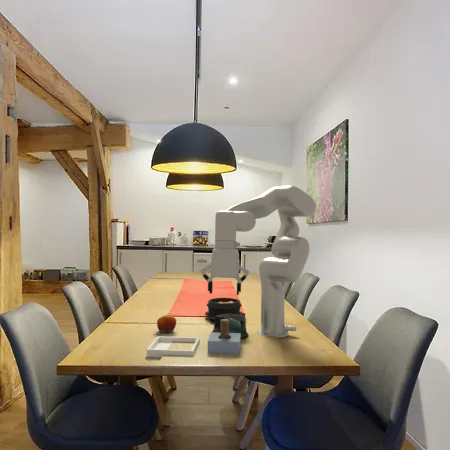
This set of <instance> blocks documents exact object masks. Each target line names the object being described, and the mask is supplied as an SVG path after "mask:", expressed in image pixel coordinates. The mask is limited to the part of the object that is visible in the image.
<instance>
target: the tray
mask: <svg viewBox="0 0 450 450" xmlns="http://www.w3.org/2000/svg"><path fill="white" fill-rule="evenodd" d="M200 341H201V340H200V337H194V336H193V337H191V336H166V335H165V336H163V335H162V336H161V335H160V336H159V335H157V337H155V339H154V340H153V341H152V343H150V344H149V346H148V347H147V348H146V354H145V355H146V357H147V358H163V357H164V356H187V357H188V356H194V355H195V352H196V351H197V348H198V346H199V344H200ZM173 342H178V343H181V342H183V343H184V342H185V343H194V344H193V346H192V348H191V349H169V348H170V346H171V345H172V343H173Z"/></svg>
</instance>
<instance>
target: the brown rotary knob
mask: <svg viewBox="0 0 450 450" xmlns="http://www.w3.org/2000/svg"><path fill="white" fill-rule="evenodd" d="M214 319H215V320H214V323H213V329H212V330H211V332H217V333H221V320H222V319H228V320H229V333H241V341H242V340H246V339H247V338H249V337H250V335H249V333H248V331H247V318H246V317H245V316H244V315H243V316H241V315H238V314H222V315H217V316H215V318H214Z"/></svg>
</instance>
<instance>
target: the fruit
mask: <svg viewBox="0 0 450 450" xmlns="http://www.w3.org/2000/svg"><path fill="white" fill-rule="evenodd" d="M156 325H157V326H156V327H157V329H158V331H159V332H160V333H162V334H164V333H171V334H172V333H173V331H174V329H176V325H177V319H176V317H175V316H173V315H168V314H165V315H162V316H159V318H158V319H157V320H156Z"/></svg>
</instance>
